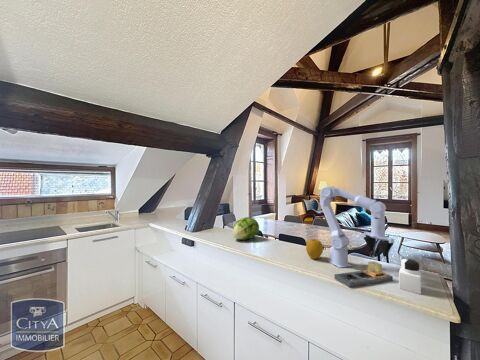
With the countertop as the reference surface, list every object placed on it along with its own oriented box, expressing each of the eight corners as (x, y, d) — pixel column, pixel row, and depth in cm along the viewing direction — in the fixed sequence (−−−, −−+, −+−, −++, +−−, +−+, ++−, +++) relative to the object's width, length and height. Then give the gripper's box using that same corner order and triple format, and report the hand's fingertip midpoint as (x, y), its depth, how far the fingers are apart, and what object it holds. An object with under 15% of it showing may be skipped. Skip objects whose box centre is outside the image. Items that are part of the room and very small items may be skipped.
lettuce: (223, 229, 166) (236, 218, 155) (241, 220, 184) (254, 210, 173) (235, 249, 161) (249, 239, 150) (252, 238, 179) (266, 229, 168)
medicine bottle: (421, 288, 89) (420, 260, 90) (421, 294, 84) (420, 265, 84) (400, 283, 94) (400, 256, 94) (398, 288, 89) (398, 260, 89)
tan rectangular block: (367, 276, 100) (367, 262, 100) (374, 275, 101) (374, 261, 102) (375, 280, 96) (375, 265, 97) (381, 279, 98) (381, 264, 98)
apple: (324, 262, 118) (324, 241, 119) (307, 260, 120) (307, 240, 121) (321, 256, 128) (321, 237, 128) (305, 255, 130) (305, 236, 130)
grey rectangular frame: (334, 278, 98) (334, 273, 98) (375, 272, 105) (375, 268, 105) (349, 287, 89) (349, 282, 89) (392, 280, 96) (392, 275, 96)
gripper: (359, 223, 108) (359, 249, 108) (385, 229, 95) (386, 259, 94) (369, 223, 110) (369, 248, 110) (397, 229, 97) (397, 258, 96)
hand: (378, 253), depth 102 cm, fingers open, 7 cm apart
